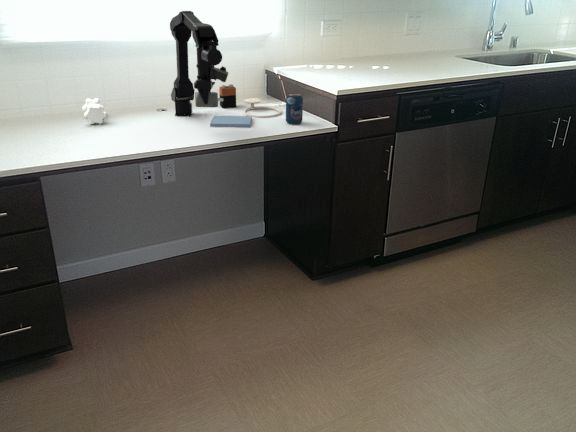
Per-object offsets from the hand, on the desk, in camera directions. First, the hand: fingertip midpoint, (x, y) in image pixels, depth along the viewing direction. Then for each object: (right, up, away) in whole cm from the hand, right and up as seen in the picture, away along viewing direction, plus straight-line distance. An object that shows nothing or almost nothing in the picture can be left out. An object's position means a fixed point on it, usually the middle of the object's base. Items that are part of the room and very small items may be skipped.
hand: (206, 102), depth 209 cm
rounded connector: (0, -1, +1) cm, 1 cm away
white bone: (-49, -4, +18) cm, 52 cm away
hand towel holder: (+19, +3, +35) cm, 39 cm away
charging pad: (+8, -5, +18) cm, 20 cm away
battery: (+4, +7, +42) cm, 43 cm away
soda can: (+34, -5, +19) cm, 39 cm away
